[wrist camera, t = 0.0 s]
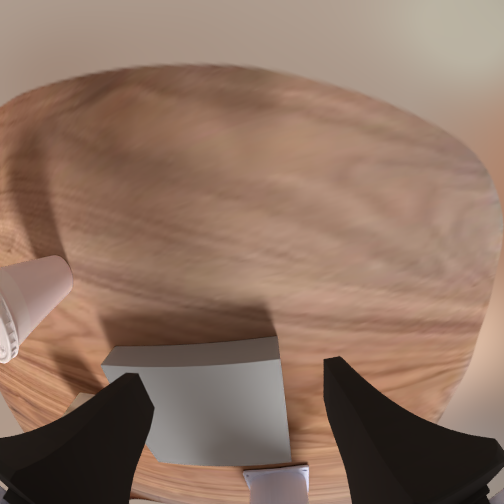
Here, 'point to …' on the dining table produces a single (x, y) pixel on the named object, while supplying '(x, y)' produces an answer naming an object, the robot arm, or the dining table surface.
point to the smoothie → (29, 298)
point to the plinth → (211, 401)
